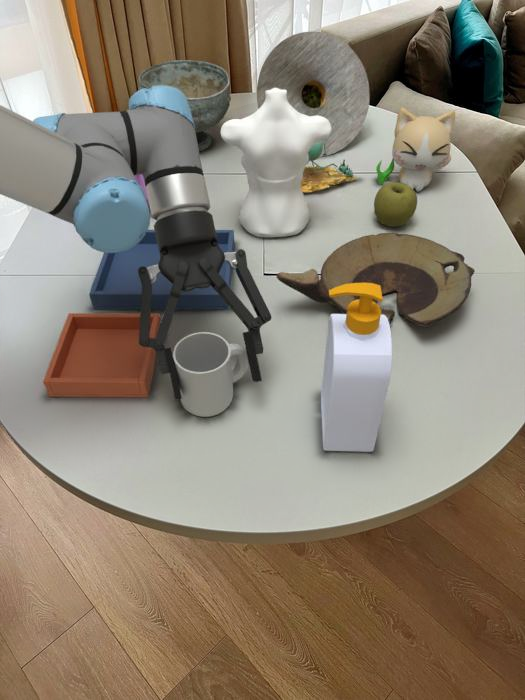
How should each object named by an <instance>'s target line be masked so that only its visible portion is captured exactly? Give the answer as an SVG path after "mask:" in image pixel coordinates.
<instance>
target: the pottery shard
mask: <svg viewBox="0 0 525 700" xmlns="http://www.w3.org/2000/svg"><path fill="white" fill-rule="evenodd" d="M448 267H453V269H452V271H450V272H449V273H447V272H446V271H445V269H446V268H448ZM475 272H476V271H475V269H474V268H473V267H471V266H469V265H468V263H465V257H464V255H463V254H462V253H459V252H457V251H452V250H450V249H449V248H448V247H446V246H444V245H442V244H441V243H438V242H436V241H434V240H431V239H429V238H425V237H422V236H419V235H418V236H417V235H415V234H414V235H413V234H408V233H398V232H384V233H383V232H380V233H377V234H369V235H364V236H361V237H358V238H355V239H352V240H350V241H348V242H345V243H344V244H342V245H340V246H339V247H337V248H336V249H335V250H333V252H332V253H331V254H330V255H328V257H326V259H325V260H324V262H323V264H322V267H321V269H320V275H319V273H318V271H317V270H316V269H315V268H310V269H309V270H306V271H304V272H301V273H293V272H292V273H291V272H285V271H281V272H278V273H276V276H275V277H276V280H278V281H279V282H281V283H282V284H284V285H285V286H287V287H289V288H290V289H293V290H294V291H296V292H299V293H300V294H302V295H304V296H305V297H307V298H309V299H310V300H312V301H314V302H316V303H319V304H332V305H333V306H334V307H335V308H336V309H337V310H338V311H339V312H341V313H342V314H347V308H348V305H349V304H350V303H351V302H352V301H355V300H358V299H360V296H355V295H342V296H336V297H331V298H330V296H329V290H331V289H333V288H335V287H338V286H341V285H344V284H351V283H374V284H377V285H380V287H381V292H382V296H385V295H386V294H390V293H392V292H396V293H397V296H396V308H397V310H398V313H399V314H401V316H402V317H404V318H405V319H406V320H408V321H410V322H411V323H414V324H416V325H418V326H421V327H428V326H432V325H434V324H437V323H439V322H441V321H443V320H444V319H446V318H448V317H450V316H451V315H453V314H454V313H456V312H457V311H458V310H459V309H460V308H461V307H462V306H463V304H464V303H465V302H466V301H467V299H468V297H469V295H470V292H471V289H472V277H473V276H474V274H475ZM372 301H373V302H375V303H376V304H378V300H376V299H372ZM380 308H381V315H385V316H386V317H387V318H388V322H389V323H390V321H391V320H392V319H393V317H394V316H395V314H396V312H395V310H394V309H390V308H391V307H390V306H389V307H382V306H380Z"/></svg>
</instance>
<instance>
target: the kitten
mask: <svg viewBox="0 0 525 700" xmlns="http://www.w3.org/2000/svg"><path fill="white" fill-rule="evenodd" d="M455 119H456V110H455V109H451V110H449V111H447V112H445V113H443V114H441V115H439V116H437V117H434V116H429V115H420V116H416V115H415V114H413V113H411V112H410V111H409V110H407V108H405V107H400V108H399V109H398V112H397V117H396V123H395V127H394V140H393V144H392V150H391V156H392V159H391V162H390V163H389V165H388V167H387V168H386V169H385V170H384V171H383V172H382V171H381V166H382V162H383V159H381V160H380V161H379V163H378V164H377V165H376V174H377V179H376V181H377V183H378V185H381V186H383V185H384V182H385V181H388V177H390V175H391V174H393V171H394V169H395V164H396V165H398V166H399V167H401V168H400V169H399V171H398V181H399V183H404V184H406V185H408V186H410V187H411V188H412V189H413V190H415V191H416V193H417V192H418V193H419V192H421V191H422V190H423V189H424V188H425V187H427V186H429V184H431V181H432V175H433V174H435V173H437V172H439V171H440V170H441V169H443V168H445V167H446V166H447V165H448V164H449V163H450V162H451V161H452V155H451V142H452V141H451V137H452V136H453V135H452V134H453V128H454V124H455Z"/></svg>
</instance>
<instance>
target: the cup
mask: <svg viewBox="0 0 525 700" xmlns="http://www.w3.org/2000/svg"><path fill="white" fill-rule="evenodd" d="M172 354H173V359H174V364H175V369H176V373H177V378H178V383H179V388H180V393H181V397H182V399H179V400H180V402H181V405H182V407H183V408H184V409H185V410H186V411H187V412H188V413H190V414H191V415H194V416H197V417H203V418H208V417H214V416H217V415H219V414H221V413H223V412H224V411H225V410H227V409H228V407H230V405H231V403H232V401H233V397H234V383H236V382H237V381H239V380H241V378H242V377H243V376H244V375H245V373H246V371H247V369H248V366H249V362H248V357H247V352H246V347H244V346H243V345H241V344H238V343H229V342H228V340H227V339H225V337H223V336H222V335H219V334H217V333H213V332H208V331H199V332H193V333H190V334H188V335H186V336H184V337H182V338H181V339H180V340H178V342H177V343H176V345H174V348H173V351H172ZM233 357H235V359H236V361H235V365H234V367H232V365H233V363H232V358H233Z"/></svg>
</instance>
